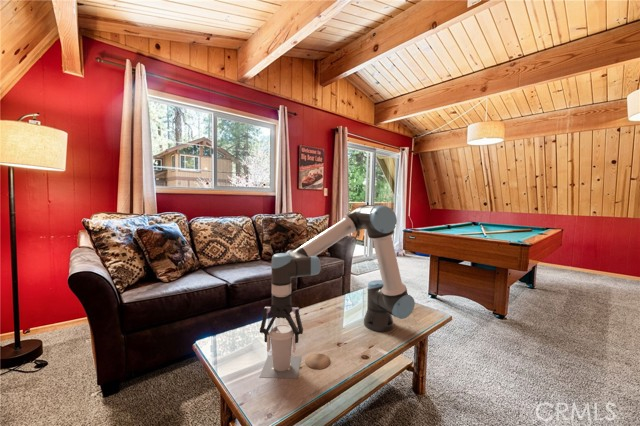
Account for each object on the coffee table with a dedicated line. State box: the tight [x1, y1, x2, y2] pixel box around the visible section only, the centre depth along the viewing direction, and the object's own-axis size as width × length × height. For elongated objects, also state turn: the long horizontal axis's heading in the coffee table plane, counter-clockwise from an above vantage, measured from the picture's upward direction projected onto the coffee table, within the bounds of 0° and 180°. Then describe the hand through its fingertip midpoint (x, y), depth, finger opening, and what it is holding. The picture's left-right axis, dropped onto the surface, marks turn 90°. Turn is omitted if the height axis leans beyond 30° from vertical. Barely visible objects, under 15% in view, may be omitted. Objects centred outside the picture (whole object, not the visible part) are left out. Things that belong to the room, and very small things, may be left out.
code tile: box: [259, 354, 302, 380], centre depth 107 cm, size 14×14×1 cm
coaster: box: [305, 353, 331, 370], centre depth 110 cm, size 10×10×1 cm
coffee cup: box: [269, 323, 294, 371], centre depth 107 cm, size 10×10×15 cm
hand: (281, 350), depth 107 cm, fingers closed on coffee cup, 9 cm apart
